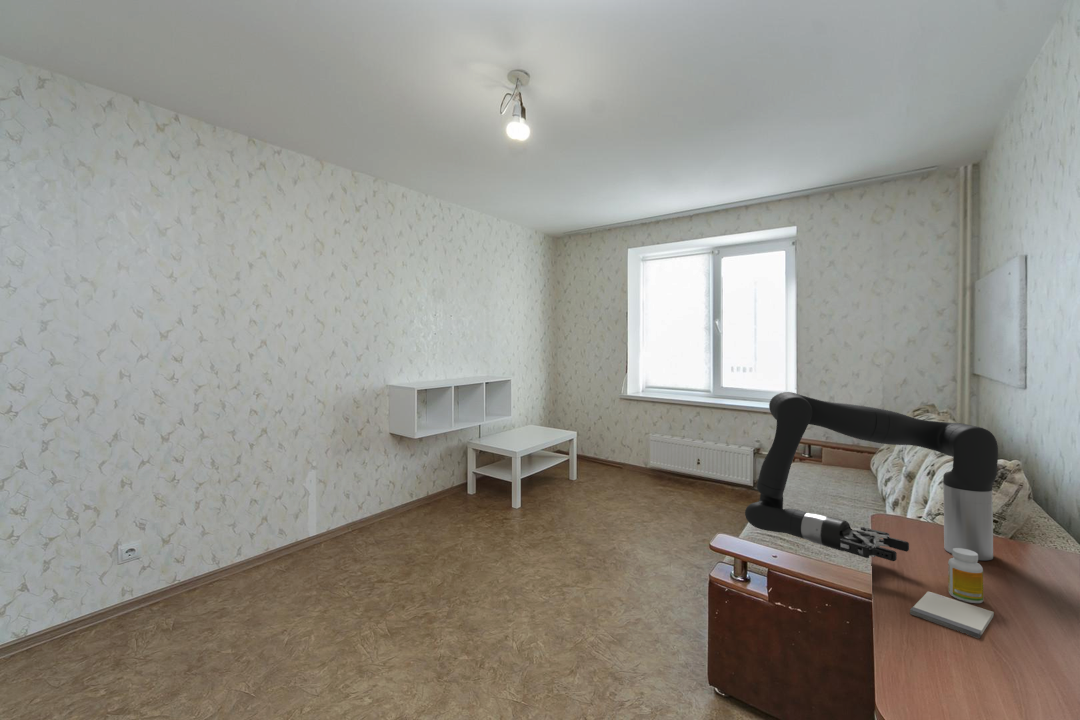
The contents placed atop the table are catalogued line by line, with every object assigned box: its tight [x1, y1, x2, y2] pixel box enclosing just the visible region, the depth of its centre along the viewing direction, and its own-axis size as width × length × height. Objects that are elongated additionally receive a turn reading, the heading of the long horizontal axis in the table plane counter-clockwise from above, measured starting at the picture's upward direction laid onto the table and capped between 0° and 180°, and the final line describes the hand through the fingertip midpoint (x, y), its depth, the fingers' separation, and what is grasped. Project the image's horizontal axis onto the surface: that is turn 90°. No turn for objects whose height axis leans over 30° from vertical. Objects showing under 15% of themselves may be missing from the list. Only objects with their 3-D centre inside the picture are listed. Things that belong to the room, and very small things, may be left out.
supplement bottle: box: [947, 548, 984, 604], centre depth 96 cm, size 5×5×10 cm
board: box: [909, 590, 995, 639], centre depth 89 cm, size 12×10×1 cm
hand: (902, 551), depth 105 cm, fingers open, 8 cm apart
